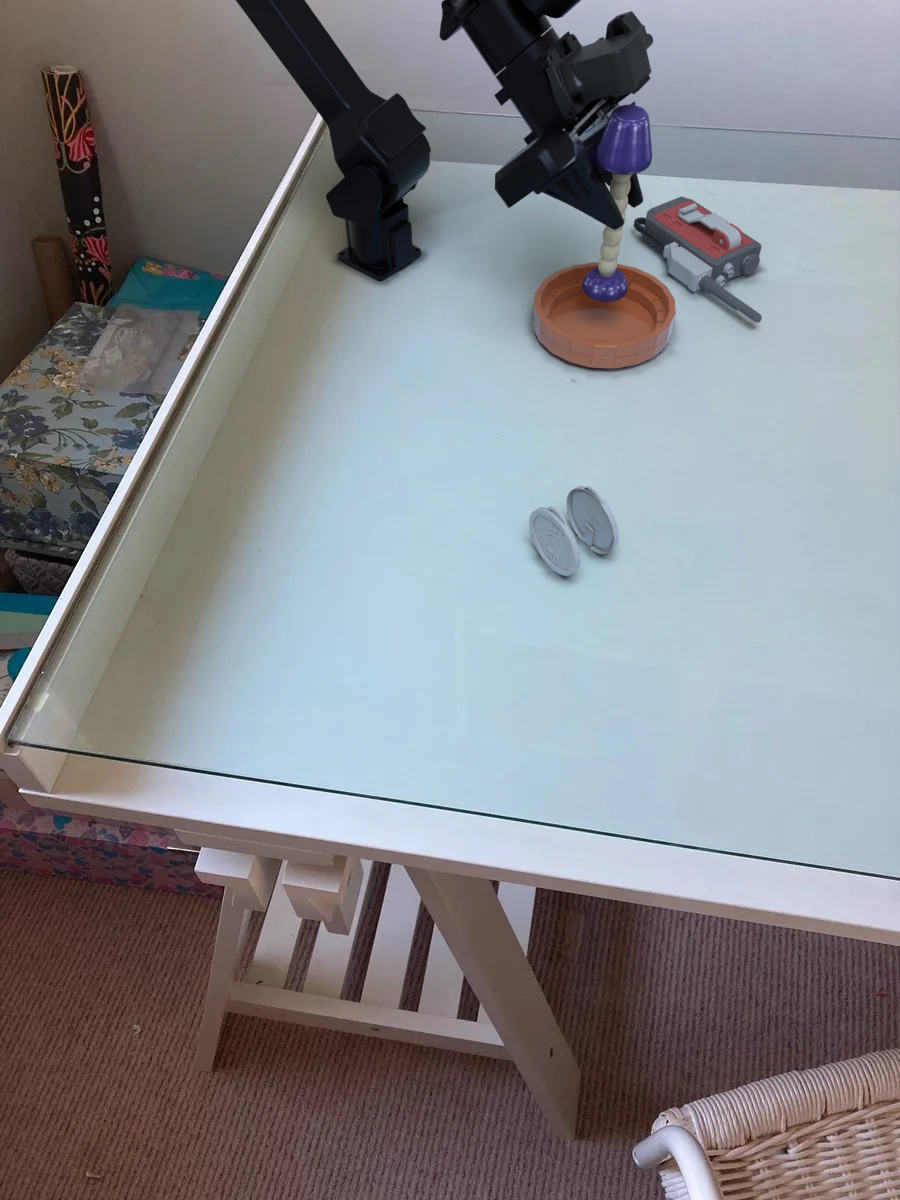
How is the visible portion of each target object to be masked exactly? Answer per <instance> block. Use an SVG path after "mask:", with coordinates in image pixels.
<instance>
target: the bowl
mask: <svg viewBox="0 0 900 1200" xmlns="http://www.w3.org/2000/svg"><path fill="white" fill-rule="evenodd" d="M598 262H599V261H598ZM598 262H596V261H595V262H587V263H586V262H585V263H579V264H573V265H571V266H568V267H565V268H563V269H559V270H557V271H555V272H554V273H552V274H551V275H550V276H548V277H547V278H545V279H544V280H543V281H542V282H541V284H540V285H539V287H538V289H537V290H536V291H535V293H534V306H533V323H532V328H533V330H534V333H535V335H536V337H537V340H538V341H539V342H540V344H542V346H543V347H545V348H546V349H547V350H548V351H549V352H550V353H551V354H553V355H555V356H557V357H559V358H561V359H563V360H565V361H567V362H568V363H570V364H575V365H579V366H583V367H586V368H592V369H619V368H620V369H621V368H626V367H632V366H636V365H638V364H642V363H643V362H646V361H649V360H650V359H653V358H654V357H655V356H657V355H658V354H659V353H660V352H661V351H663V350H664V349H665V348H666V347H667V345H668V342H669V341H670V338H671V337H672V334H673V329H674V323H675V318H676V313H677V309H676V300H675V297H674V295H673V294H672V292H671V290H670V289H669V288H668V286H667V285H666V284H665V283H663V282H662V281H661V280H659V279H658V278H657V277H656V276H655V275H653V274H651V273H648V272H646V271H644V270H642V269H640V268H637V267H634V266H630V265H626V264H621V263H617V269H619V270H620V271H621V272H622V273H623V274H624V275H625V277H626V280H627V286H628V289H627V293H626V295H625V296H624V297H623V298H621V299H619V300H617V301H612V302H601V301H597V300H594V299H592V298H590V297H588V296H587V295H586V294H585V293H584V291H583V288H582V284H583V281H584V279H585V277H586V275H587V274H588V272H590V271H591V270H592V269H594V268H596V267H598Z"/></svg>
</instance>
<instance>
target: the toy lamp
mask: <svg viewBox="0 0 900 1200" xmlns="http://www.w3.org/2000/svg"><path fill="white" fill-rule="evenodd" d="M650 124H651V123H650V116H649V113H648V112H647V110H646V109H645V108H643V107H642V106H639V105H636V104H635V105H630V104H622V105H620V106H619V107H617V108H616V109H614V110H613V112H612V113H611V115H610V118H609V120H608V122H607V125H606V127H605V130H604V132H603V135H602V137H601V140H600V142H599V145H598V148H597V163H598V165H599V166H601V167H602V168H603V169H604V170H606V171H609V172H611V173H612V176H613V179H612V181H611V183H610V187H609V191H610V193H611V195H612V197H613V199H614V200H615V202H616V204H617V206H618V208H619V210H620V212H621V215H622V217H623V219H624V224H625V222H626V210H627V208H628V205H629V204H628V197H627V195H628V193H629V191H630V187H631V182H630V177H631V176H632V174H637V175H638V174H640V173H642V172H644V171H646V170H647V169H648V168H649V167H650V165H651V163H652V160H653V147H652V145H653V144H652V135H651V125H650ZM623 227H624V225H623V226H621V227H620V228H618V229H617V230H613V229H611V228H610V227H608V226H606V225H605V227H604V228H603V231H602V243H601V246H600V252H599V253H600V257H599V259H598V267H596V268H594V269H592V270H591V271H590V272H588V274H587V275H586V277H585V279H584V281H583V284H582V288H583V291H584V293H585V294H586V295H587V296H588V297H590V298H592V299H594V300H597V301H601V302H612V301H617V300H619V299H621V298H623V297H624V296H625V295H626V293H627V289H628V286H627V280H626V277H625V275H624V274H623V273H622V272H621V271H620V270H619V269H617V264H618V256H619V255H620V251H621V245H620V243H621V241H622V239H623V237H624V236H623V235H624V232H623Z"/></svg>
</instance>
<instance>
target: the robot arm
mask: <svg viewBox="0 0 900 1200" xmlns="http://www.w3.org/2000/svg"><path fill="white" fill-rule="evenodd" d="M581 1H582V0H442V1H441V3H440V4H441V10H442V11H441V21H440V26H439V39H440V40H442V42H445V41H448V40H449V39H450V38H451V37H453V36H454V35H455V34H458V32H459V31H461V30H464V32H465V34H466V35H467V37H468V38H469V40H470V41H471V43H472V45H473V46H474V47H475V49H476V50H477V52H478V53H479V55H480V56H481V58H482V60H483V61H484V62H485V64H486V65H487V67H488V68H489V70H490V71H491V73H492V74H493V76H494V77H495V79H496V81H497V82H498V83H499V85H500V86H501V88H500V89H499V90H498V91H497V92H496V93H495V94H494V95H493V96H494V97H495V99H496V101H497V102H498V103H499V105H500V106H501V107H502V106H503V105H505V104H506V103H507V102H508V101H509V100H510V101H511V103H512V105H513V106H514V108H515V109H516V110H517V113H518V114H519V115H520V117H521V118H522V119H523V121H524V122H525V124H526V125H527V127H528V129H529V130H530V132H529V133H528V134H526V136H525V137H524V138H523V141H524V143H525V144H526V146H525V147H524V148H522V149H520V151H518V152H517V153H515V155H513V156H512V157H511V158H510V159H509V160H508V161H507V162H506V163H504V165H503V166H502V167H501V168H500V169H498V170H497V171H496V172H495V173H494V190H495V192H496V194H497V195H498V196H499V198H500V199H501V200H502V202H503V204H504V205H505V206H506V207H507V209H510V208H512V207H513V206H514V205H516V204H517V203H519V202H520V201H522V200H523V199H524V198H526V197H527V196H529V195H530V194H531V193H534V194H535V195H536V196H539V195H540V194H541V193H543V194H544V195H547V196H549V197H551V198H553V199H555V200H557V201H560V202H561V203H564V204H566V205H568V206H571V207H572V208H574V209H576V210H577V211H579V212H581V213H583V214H585V215H587V216H589V217H590V218H592V219H593V220H595V221H597V222H599V223H601V224H602V225H604V226H605V227H606V226H608V227H610V228H611V229H613V230H617V229H618V228H620V227H621V226H623V227H624V226H625V223H624V219H623V217H622V215H621V212H620V210H619V208H618V206H617V204H616V202H615V200H614V199H613V197H612V195H611V193H610V183H611V181H612V179H613V176H612V173H611V172H609V171H606V170H604V169H603V168H602V167H601V166H599V165H598V163H597V148H598V145H599V142H600V140H601V137H602V135H603V132H604V130H605V127H606V125H607V122H608V120H609V118H610V115H611V113H612V112H613V110H614V109H616V108H617V107H619V106H621V105H620V102H622V101H623V100H624V99H626V98H628V96H630V95H631V94H632V95H635V94H636V93H638V92H639V91H640V90H641V89H642V88H643V87H644V86H645V85H646V84H648V82H649V81H650V80H651V76H650V75H651V73H652V67H651V63H650V58H649V54H648V49H649V48H650V47H651V46H652V45H653V44H654V38H653V36H652V34H651V33H647V30H646V26H645V24H643V23H642V22H641V21H640V19H639V18H638V16H636V14H635V13H634V11H633V10H630V11H627V12H624V13H621V14H617V15H615V17H613V18H612V19H611V20H610V21H609V22H608V23H607V25H606V31H605V37H604V36H602V37H599V38H598V39H597V40H596V41H594V42H592V43H589V44H585V45H582V44H581V43H580V41H579V39H578V37H577V36H576V35H575V34H574V33H570V31H569V30H568V31H566V32H565V33H564V34H562V35H561V37H560V36H559V35H558V33H557V32H556V29H554V27H553V26H552V24H551V22H550V20H549V19H548V17H549V18H550V19H560V18H561V19H562V18H563V17H564V16H565V15H566V14H568V13H569V12H570V11H571V10H572V9H573V8H574V7H576V6H577V5H578V4H579V3H580V2H581ZM235 2H236V3H237V5H238V6H239V7H240V9H241V10H242V11H243V13H244V14H245V15H246V16H247V18H248V19H249V20H250V22H251V24H253V27H254V28H255V29H256V30H257V32H258V33H259V34H260V35H261V37H262V39H264V41H265V42H266V44H267V46H269V48H270V49H271V50H272V51H273V53H274V55H275V56H276V57H277V59H278V60H279V61H280V62H281V65H283V67H284V68H285V69H286V71H287V73H288V74H289V75H290V76H291V78H292V79H293V80H294V82H295V83H296V84H297V86H298V87H299V89H300V90H301V91H302V92H303V94H304V95H305V96H306V98H307V100H309V103H311V105H312V106H313V107H314V109H315V110H316V112H317V113H318V114H319V116H320V117H321V118H322V120H323V121H324V122H325V124H326V126H327V127H328V132H329V137H330V143H331V147H332V152H333V157H334V161H335V164H336V165H337V167H338V169H339V170H340V172H341V175H342V176H343V178H342V179H341V180H340V181H338V183H336V185H335V186H333V188H331V189H330V190H329V191H328V192H327V193H326V194H325V199H326V201H327V203H328V206H329V208H330V211H331V214H332V215H333V216H334V217H336V218H339V219H342V220H344V223H345V232H346V241H347V246H346V247H345V248H343V249H342V250H340V251H338V253H337V260H339V261H341V262H343V263H344V264H346V265H349V266H351V267H352V268H354V269H356V270H358V271H361V272H362V273H364V274H366V275H368V276H370V277H372V278H374V279H375V280H379V281H382V280H384V279H386V278H387V277H389V276H391V275H392V274H394V273H395V272H397V271H399V270H400V269H401V268H403V267H405V266H406V265H408V264H410V263H411V262H413V261H414V260H415V259H417V258H419V257H420V256H421V255H422V249H421V248H420V247H418V246H416V245H414V244H413V229H412V222H410V213H409V211H410V210H409V204H407V203H405V200H404V198H405V197H406V195H408V194H409V193H410V192H411V191H414V190H415V189H416V188H417V186H418V183H419V181H420V180H421V179H422V178H423V177H424V176H425V175H426V173H428V170H429V168H430V164H431V153H432V148H431V146H430V143H429V141H428V139H427V137H426V135H425V133H424V132H425V131H426V130H427V127H426V126H425V125H424V124H423V123H421V122H420V121H419V120H418V119H417V118H416V117H415V115H414V114H413V112H412V111H411V109H410V107H409V105H408V103H407V101H406V99H405V98H404V97H403V96H402V95H400V93H398V92H395V93H394V94H393V95H392V96H390V97H389V98H387V99H386V98H384V97H381V96H380V95H378V94H377V93H374V92H373V91H372V90H370V88H368V86H366V85H365V83H364V82H363V80H362V78H360V76H359V74H358V73H357V72H356V70H355V69H354V67H353V66H352V65H351V63H350V62H349V60H348V58H347V57H346V56H345V54H343V51H342V50H341V49H340V48H339V46H338V45H337V43H336V42H335V40H334V39H333V38H332V36H331V35H330V34H329V32H328V30H327V29H326V27H324V25H323V23H321V21H320V19H319V18H318V17H317V15H316V14H315V12H314V10H312V8H311V7H310V5H309V4H308V2H307V1H306V0H235ZM629 105H636V101H633V102H631V103H629ZM630 182H631V187H630V191H629V193H628V195H627V197H628V205H629V206H630V207H631V208H637V207H638V206H640V205H641V204H642V203H643V202H644V196H643V192H642V188H641V184H640V181H639V176H638V173H637V174H632V176H631V177H630Z"/></svg>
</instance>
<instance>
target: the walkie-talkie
mask: <svg viewBox="0 0 900 1200" xmlns="http://www.w3.org/2000/svg"><path fill="white" fill-rule="evenodd" d="M633 228H634V229H635V231H637V232H639V233H640V234H642V240H643V241H645V242H646V243H648V244H649V245H650V246H652V247H653V248H655V249H656V250H657V251H659V252H660V253H661V254H662V257H664V258H665V259H666V262H667V272H668V273H669V274H670V275H671V276H673V277H674V278H675V279H677V280H678V281H680V282H681V283H682V284H684V285H685V286H686V287H687V288H688V290H690V291H692V293H695V292H697V291H700V290H701V289H702V290H703V291H704V292H706V293H710V294H711V295H713V296H714V297H716V298H717V299H719V301H721V302H722V303H724V304H725V305H727V306H728V307H729V308H731V309H733V310H734V311H738V312H740V313H741V314H742V315H744V316H745V317H747V318H748V319H749V320H751V321H752V322H755V323H757V324H759V323H760V322H761V321H762V318H763V317H762V314H761V313H760V312H758V311H757V310H756V309H754V308H753V307H751V306H750V305H748V304H746V302H744V301H742V300H741V299H739V298H738V297H737V296H735V295H734V294H732V293H731V292H729V291H728V290H726V289H725V288H724V287H723V286H724V285H725V284H726V282H727V281H730V280H732V279H734V278H737V277H739V276H742V275H743V274H744V275H747V276H748V275H749V276H750V275H751V274H753V273H754V272H755V271H756V270H757V269H758V268H759V265H760V263H761V258H760V254H761V251H762V247H763V246H762V244H761V243H760V242H759V241H757V240H756V239H754V238H753V237H751V236H749V235H748V234H746V233H745V232H744V231H742V229H740V228H739V227H738V226H736V225H735V224H733V223H732V222H728V220H727V219H726V218H724V217H723V216H721V215H719V214H718V213H717V212H712V211H711V210H709V209H707V208H706V207H705V206H704V205H701V204H700V203H698V202H697V201H696V200H694V199H691V198H689V197H685V196H679V197H676V198H674V199H671V200H669V201H666V202H664V203H663V202H662V203H661V204H659V205H656V206H653V207H651V208H649V209H648V210H647V211H646V214H645V217H643V216H642V217H636V218H635V219H634V221H633Z"/></svg>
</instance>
